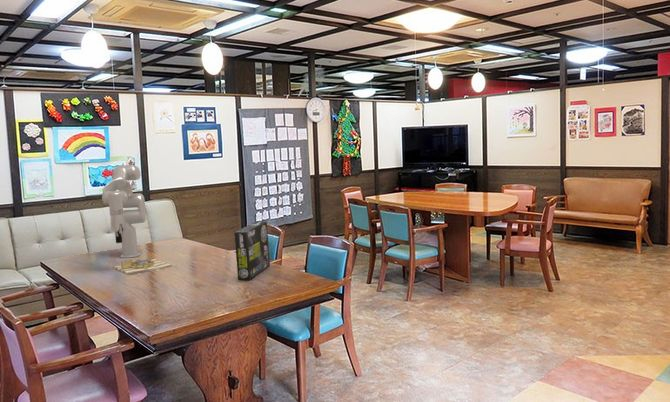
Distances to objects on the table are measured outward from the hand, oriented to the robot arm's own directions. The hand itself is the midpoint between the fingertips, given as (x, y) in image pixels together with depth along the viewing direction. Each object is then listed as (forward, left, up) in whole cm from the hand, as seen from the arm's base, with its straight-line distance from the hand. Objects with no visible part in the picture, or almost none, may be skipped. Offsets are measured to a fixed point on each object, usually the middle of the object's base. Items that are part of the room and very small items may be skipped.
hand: (119, 242), depth 319 cm
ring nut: (+6, +8, -15) cm, 18 cm away
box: (+73, +49, -17) cm, 89 cm away
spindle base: (+6, +11, -16) cm, 20 cm away
